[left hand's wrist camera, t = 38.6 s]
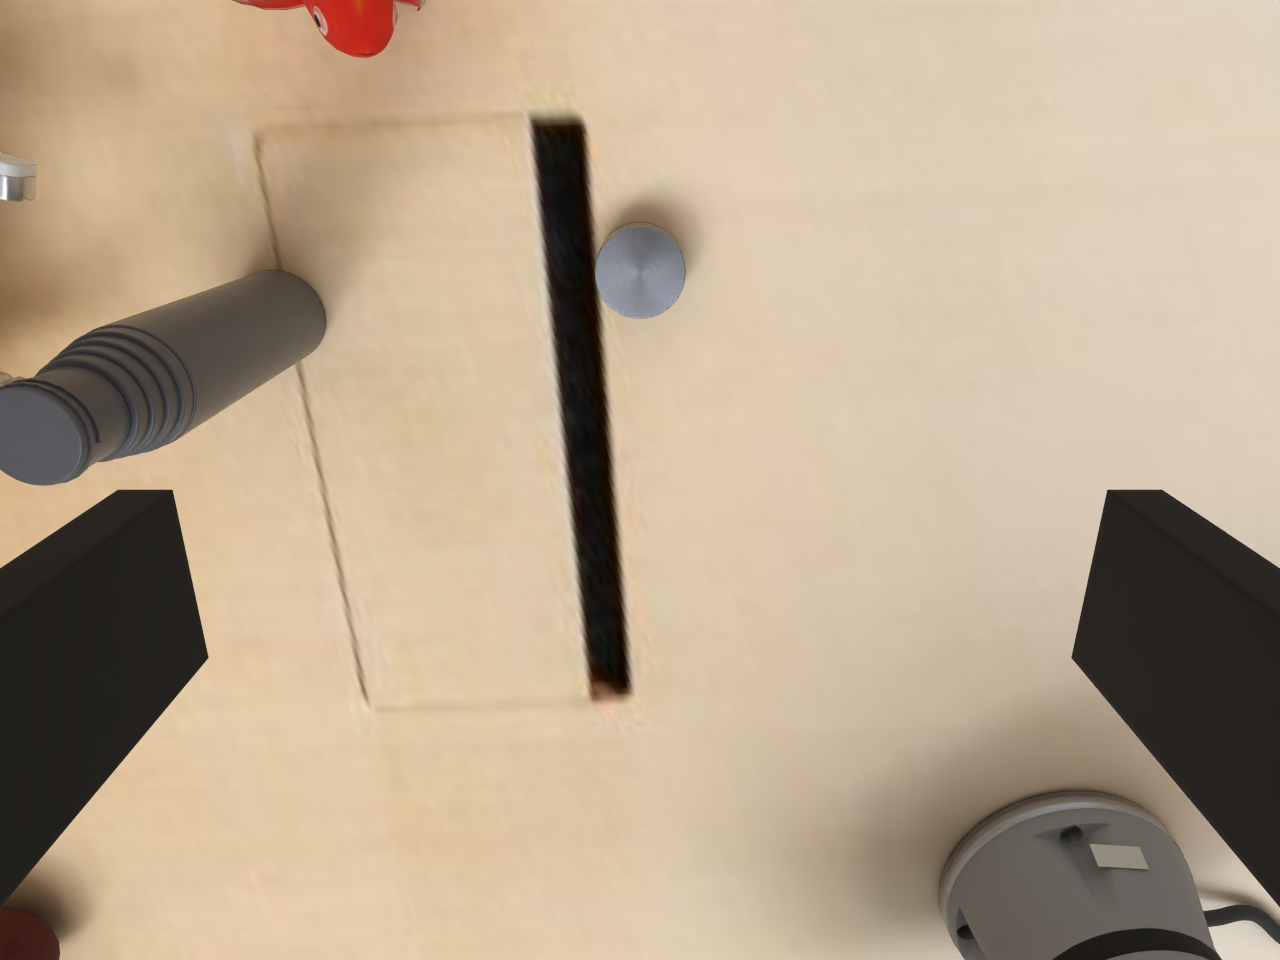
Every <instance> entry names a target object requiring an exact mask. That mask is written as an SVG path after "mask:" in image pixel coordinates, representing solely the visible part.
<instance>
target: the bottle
mask: <svg viewBox="0 0 1280 960" xmlns="http://www.w3.org/2000/svg"><path fill="white" fill-rule="evenodd" d="M325 328H326V317H325V312H324V308H323V305H322V303H321V301H320V299H319V297H318V295H317V294H316V292H315V291H314V290H313V289H312V288H311V287H310V286H309V285H308V284H307V283H306V282H305V281H304V280H302V279H301V278H299V277H297V276H295V275H293V274H291V273H288V272H285V271H279V270H266V271H262V272H259V273H256V274H253V275H250V276H247V277H244V278H241V279H238V280H235V281H232V282H230V283H227V284H224V285H221V286H218V287H215V288H212V289H209V290H206V291H203V292H201V293H198V294H195V295H192V296H189V297H186V298H183V299H180V300H177V301H174V302H171V303H169V304H166V305H163V306H160V307H157V308H154V309H151V310H148V311H145V312H142V313H139V314H137V315H134V316H131V317H128V318H125V319H122V320H119V321H116V322H113V323H110V324H108V325H105V326H102V327H99V328H96V329H94V330H92V331H90V332H88V333H87V334H85V335H83V336H81V337H79V338H78V339H76V340H74V341H73V342H72V343H71V344H70V345H69V346H68V347H67V348H65V349H64V350H63V351H61V352H60V353H59V354H58V355H57V356H56V357H55V358H53V359H52V360H51V361H50V362H49V363H48V364H47V365H45V366H44V367H43V368H42V369H40V371H39V372H38V373H37V374H36V375H35V377H33V378H28V379H21V380H16V381H13V382H11V383H8V384H5V385H3V386H1V387H0V469H1V470H2V471H3V472H4V473H6V474H8V475H9V476H11V477H13V478H15V479H17V480H19V481H22V482H24V483H28V484H33V485H44V486H45V485H54V484H58V483H66V482H68V481H70V480H73V479H75V478H77V477H79V476H80V475H81V474H82V473H83V472H84V471H86V470H87V469H88V467H89V466H91V465H93V464H95V463H96V462H105V461H110V460H113V459H118V458H123V457H127V456H132V455H136V454H140V453H145V452H149V451H153V450H155V449H158V448H160V447H162V446H164V445H167V444H170V443H172V442H173V441H175V440H177V439H178V438H180V437H182V436H183V435H185V434H186V433H188V432H189V431H191V430H192V429H194V428H196V427H197V426H199V425H200V424H202V423H203V422H205V421H206V420H208V419H210V418H211V417H213V416H214V415H216V414H217V413H219V412H220V411H222V410H224V409H225V408H227V407H228V406H230V405H231V404H233V403H234V402H236V401H237V400H239V399H241V398H242V397H244V396H245V395H247V394H248V393H250V392H251V391H253V390H255V389H256V388H258V387H259V386H261V385H262V384H264V383H265V382H267V381H269V380H270V379H272V378H273V377H275V376H276V375H278V374H279V373H281V372H283V371H284V370H286V369H287V368H289V367H290V366H292V365H293V364H295V363H297V362H298V361H300V360H301V359H303V358H304V357H306V356H307V355H309V354H310V353H312V352H313V351H314V350H315V349H316V348H317V347H318V345H319V344H320V342H321V340H322V339H323V336H324V333H325Z"/></svg>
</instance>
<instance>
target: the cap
mask: <svg viewBox="0 0 1280 960" xmlns="http://www.w3.org/2000/svg"><path fill="white" fill-rule="evenodd" d="M595 281H596V285H597V288H598V291H599V293H600V295H601V297H602V298H603V300H604V301H605V302H606V303H607V304H608V305H609V307H611V308H612V309H613V310H614V311H616V312H618V313H619V314H622V315H624V316H627V317H630V318H638V319H643V318H650V317H654V316H656V315H659V314H661V313H663V312H664V311H666V310H667V309H668V308H670V307H671V306H672V305H673V304H674V302H675V301H676V300H677V298H678V297H679V295H680V293H681V291H682V289H683V286H684V281H685V264H684V259H683V256H682V254H681V251H680V248H679V246H678V244H677V243H676V241H675V240H674V239H673V237H672V236H671V235H670V234H669V233H667V232H666V231H665V230H663V229H662V228H660V227H658V226H656V225H653V224H649V223H640V222H638V223H631V224H627V225H625V226H622V227H620V228H618V229H617V230H615V231H614V232H613V233H612V234H610V235H609V236H608V238H607V239H606V240H605V241H604V243H603V245H602V247H601V249H600V251H599V254H598V257H597V260H596V265H595Z"/></svg>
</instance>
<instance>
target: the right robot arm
mask: <svg viewBox="0 0 1280 960" xmlns="http://www.w3.org/2000/svg"><path fill="white" fill-rule="evenodd" d="M35 187H36V163H34V162H33V161H30V160H26V159H23V158H19V157H16V156H12V155H9V154H5V153H2V152H0V199H2V200H7V201H23V200H24V199H26V200H34V199H35ZM21 379H26V378H23V377H16V378H13V377H12V376H10V375H9V374H8V373H4V372H0V387H1V386H3V385H5V384H8V383H11V382H13V381H16V380H21Z"/></svg>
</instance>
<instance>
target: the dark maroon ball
mask: <svg viewBox="0 0 1280 960" xmlns="http://www.w3.org/2000/svg"><path fill="white" fill-rule="evenodd" d="M59 957H60V949H59V941H58V939H57V937H56V935H55V933H54V932H53V930H52V929H51V927H50V926H49V925H48V924H47V923H46V922H44V921H43V920H42V919H40V918H39V917H37V916H35V915H34V914H32V913H30V912H25V911H20V910H15V909H10V908H6V907H0V960H59Z"/></svg>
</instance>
